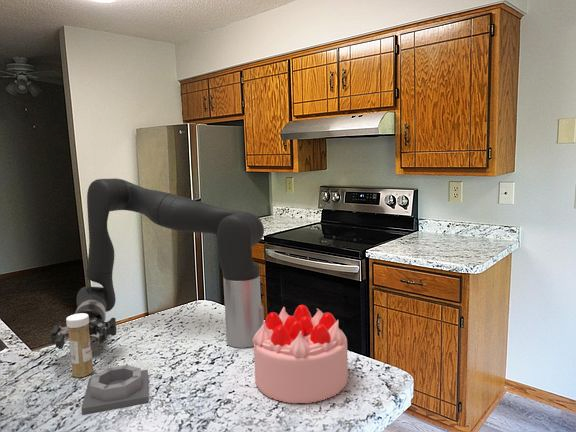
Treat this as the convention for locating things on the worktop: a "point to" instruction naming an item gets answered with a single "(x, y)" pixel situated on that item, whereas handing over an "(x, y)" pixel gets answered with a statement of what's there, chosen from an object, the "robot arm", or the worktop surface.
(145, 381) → the barrel socket
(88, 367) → the sprinkles bottle
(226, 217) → the robot arm
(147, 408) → the worktop surface
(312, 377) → the cake
